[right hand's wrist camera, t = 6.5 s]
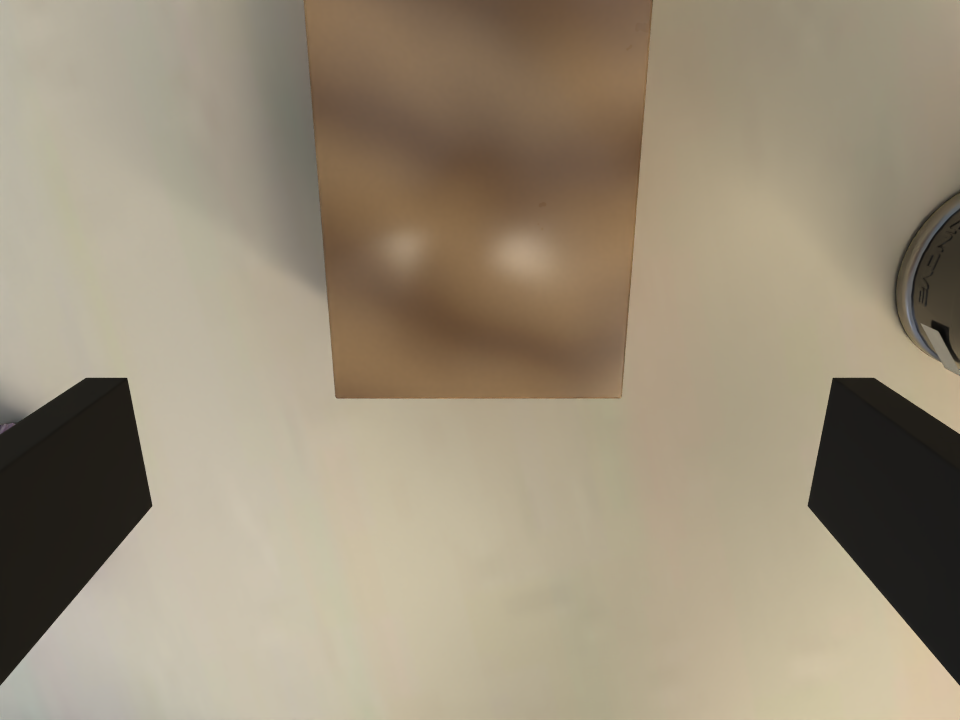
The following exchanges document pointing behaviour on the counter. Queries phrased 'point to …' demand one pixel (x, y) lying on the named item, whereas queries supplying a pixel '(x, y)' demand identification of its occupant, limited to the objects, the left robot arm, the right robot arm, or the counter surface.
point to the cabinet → (478, 192)
